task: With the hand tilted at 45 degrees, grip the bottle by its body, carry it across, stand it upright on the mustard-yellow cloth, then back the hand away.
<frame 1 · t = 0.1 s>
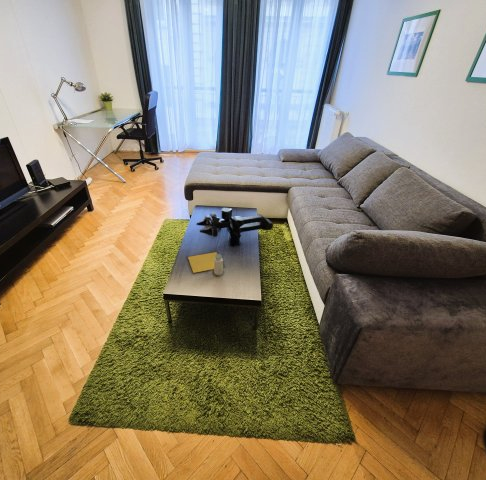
hand: (198, 227, 167), 17 cm above the table, tool horizontal, fingers open, 9 cm apart
bottle: (218, 272, 157), on the table
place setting: (217, 229, 197), on the table
cloth: (205, 262, 165), on the table
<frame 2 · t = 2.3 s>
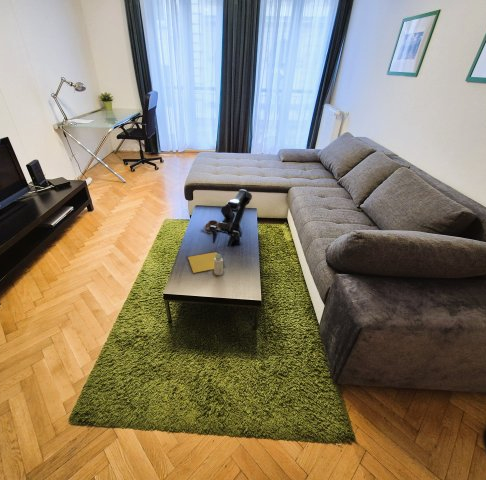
hand: (220, 245, 156), 14 cm above the table, tool tilted 50°, fingers open, 9 cm apart
nothing on the table moved.
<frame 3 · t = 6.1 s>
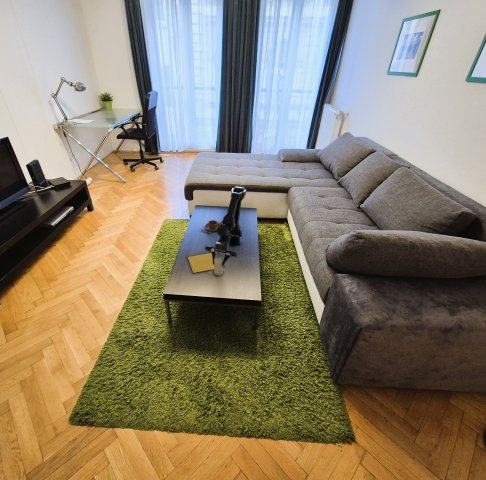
hand: (217, 265, 152), 7 cm above the table, tool tilted 45°, fingers closed on bottle, 5 cm apart
bottle: (218, 272, 157), on the table, touching gripper
everything else where it was.
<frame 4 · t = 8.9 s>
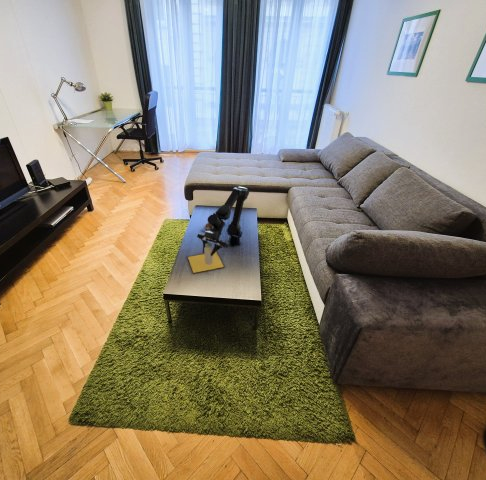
hand: (207, 254, 151), 12 cm above the table, tool tilted 45°, fingers closed on bottle, 5 cm apart
bottle: (208, 262, 155), point 6 cm above the table, touching gripper
everything else where it was.
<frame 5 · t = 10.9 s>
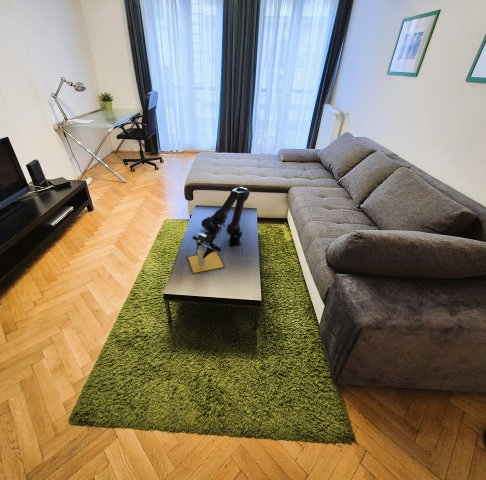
hand: (199, 256, 155), 9 cm above the table, tool tilted 45°, fingers closed on bottle, 5 cm apart
bottle: (201, 263, 160), point 2 cm above the table, touching gripper
everything else where it was.
when the fingers open (7 cm above the table, at t = 11.9 s): bottle stays where it is, resting on cloth.
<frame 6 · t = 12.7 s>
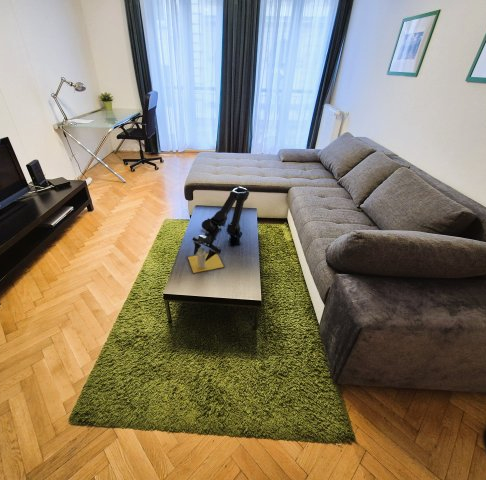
hand: (199, 257, 156), 8 cm above the table, tool tilted 45°, fingers open, 9 cm apart
bottle: (201, 266, 161), resting on cloth
everything else where it was.
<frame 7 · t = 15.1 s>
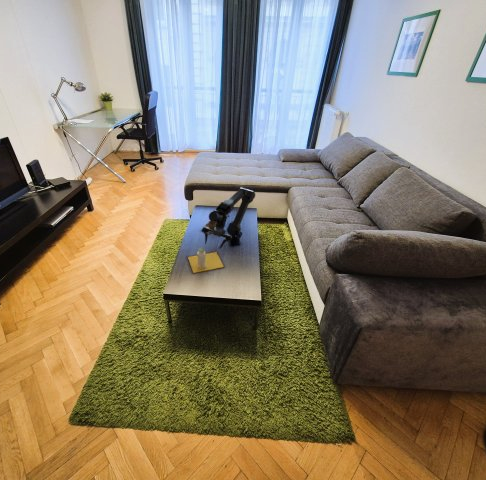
hand: (212, 246, 162), 10 cm above the table, tool tilted 30°, fingers open, 9 cm apart
nothing on the table moved.
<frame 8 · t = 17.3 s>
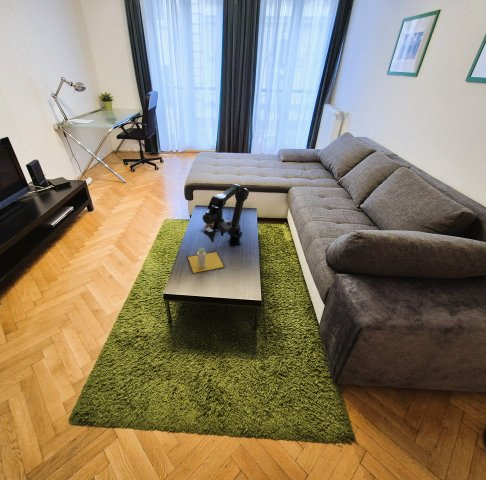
hand: (217, 239, 163), 13 cm above the table, tool pointing down, fingers open, 9 cm apart
nothing on the table moved.
at the end: bottle inside the target area on the cloth (4.7 cm from its centre), point 0.3 cm above the cloth's base; bottle tilted 0°; the gripper is holding nothing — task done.
